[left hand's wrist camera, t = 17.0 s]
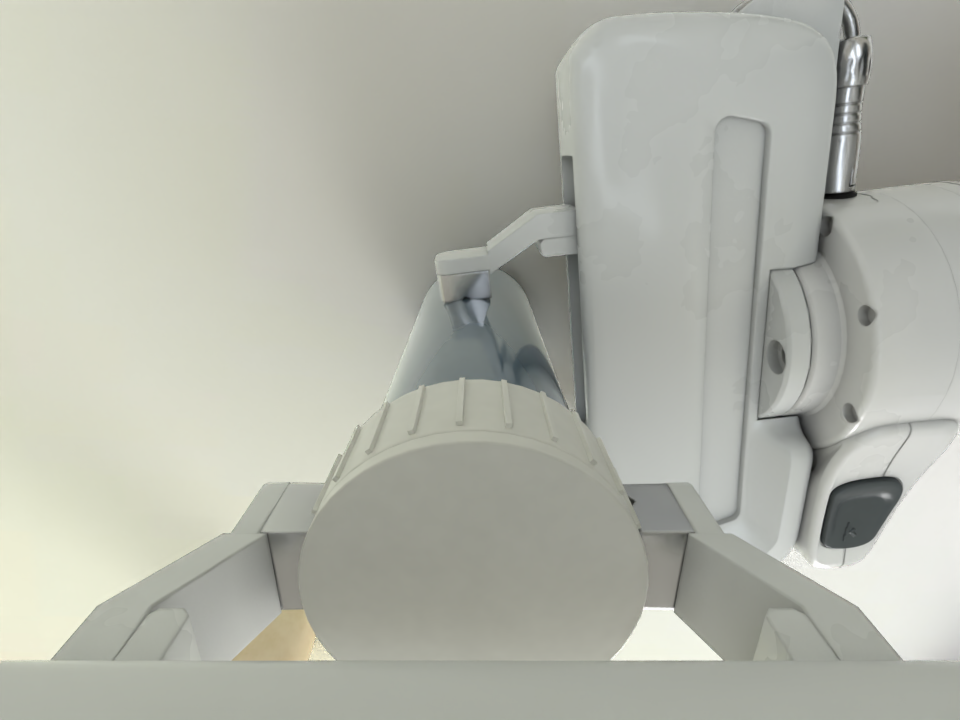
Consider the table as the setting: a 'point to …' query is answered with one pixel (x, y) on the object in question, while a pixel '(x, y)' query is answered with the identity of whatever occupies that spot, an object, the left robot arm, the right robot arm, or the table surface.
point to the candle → (281, 640)
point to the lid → (473, 534)
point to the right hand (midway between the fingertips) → (451, 365)
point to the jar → (477, 343)
